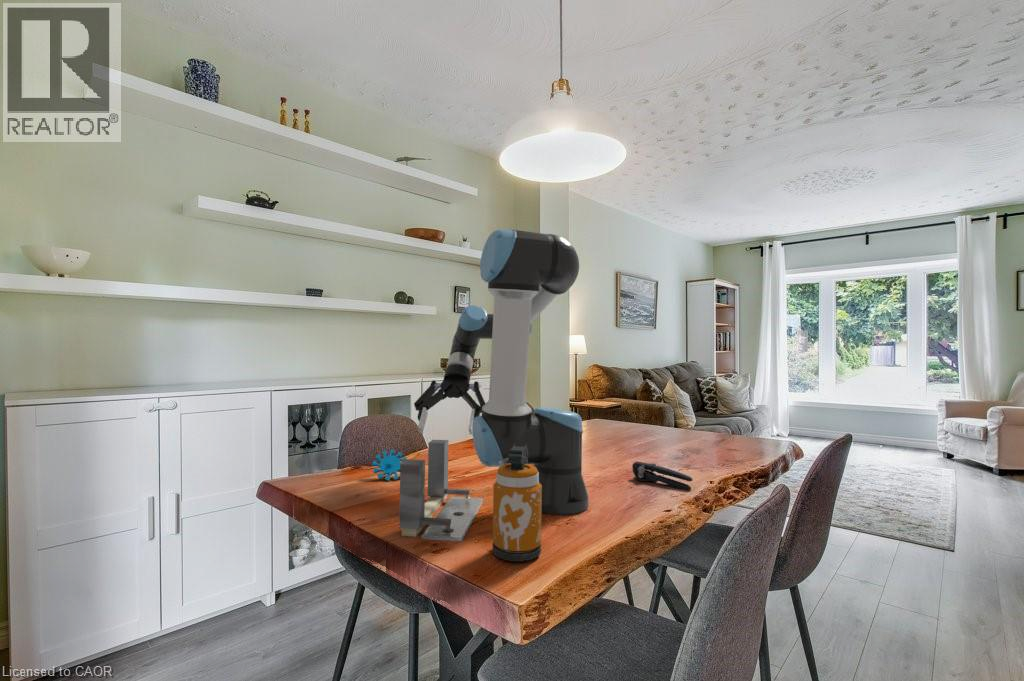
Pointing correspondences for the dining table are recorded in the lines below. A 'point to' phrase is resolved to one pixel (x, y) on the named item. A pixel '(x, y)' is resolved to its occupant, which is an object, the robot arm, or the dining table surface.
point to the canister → (517, 508)
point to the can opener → (650, 476)
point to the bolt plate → (454, 519)
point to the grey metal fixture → (417, 500)
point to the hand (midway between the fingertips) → (445, 431)
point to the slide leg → (440, 470)
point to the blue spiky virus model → (388, 465)
